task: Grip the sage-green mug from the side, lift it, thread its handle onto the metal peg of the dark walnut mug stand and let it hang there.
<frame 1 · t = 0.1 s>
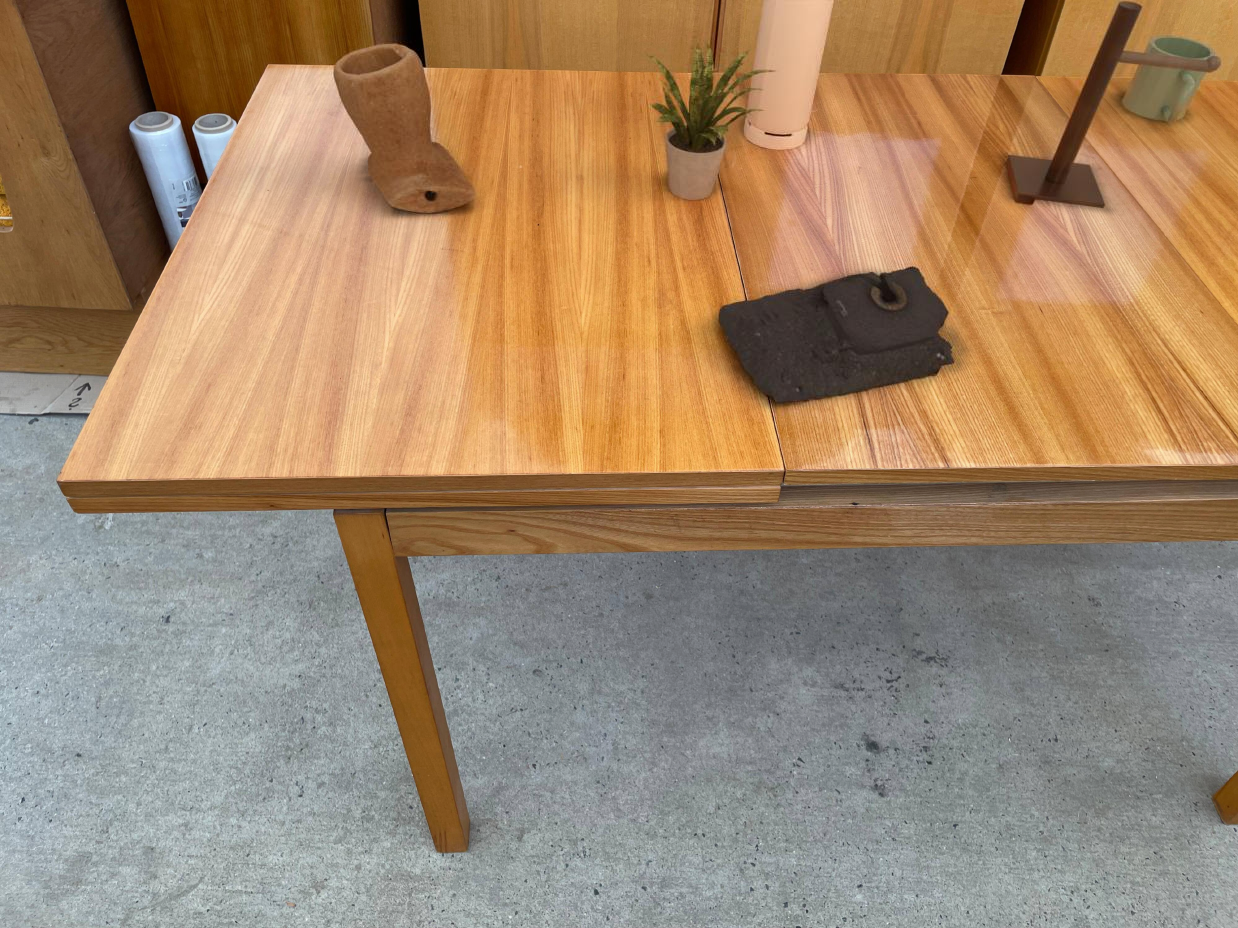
dark brown flat slab: (831, 341, 86), on the table
bottle: (774, 136, 116), on the table
house plant: (699, 194, 105), on the table
brown clay vessel: (410, 190, 103), on the table
mug: (1150, 112, 126), on the table
mug stand: (1051, 187, 110), on the table
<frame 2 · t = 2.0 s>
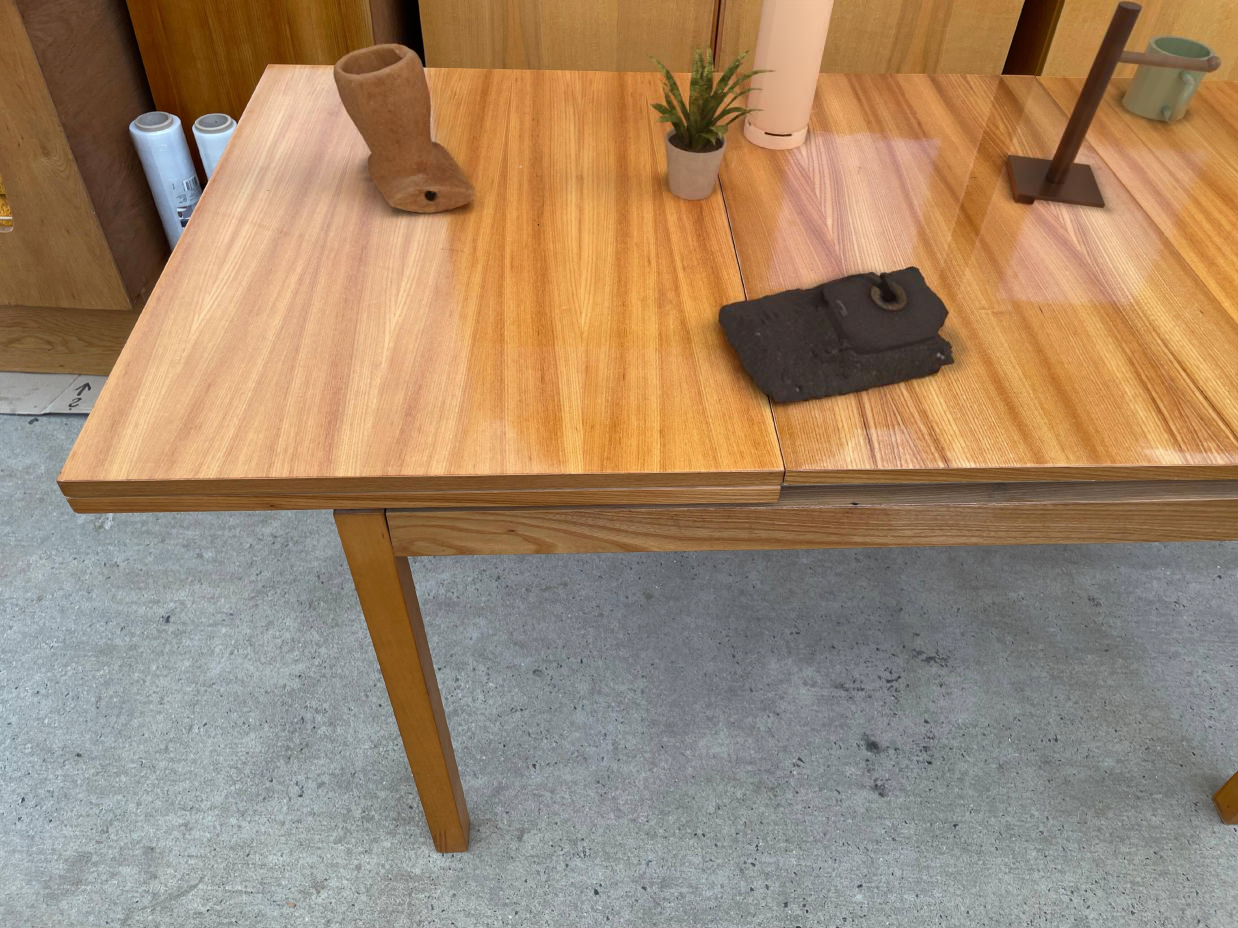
nothing on the table moved.
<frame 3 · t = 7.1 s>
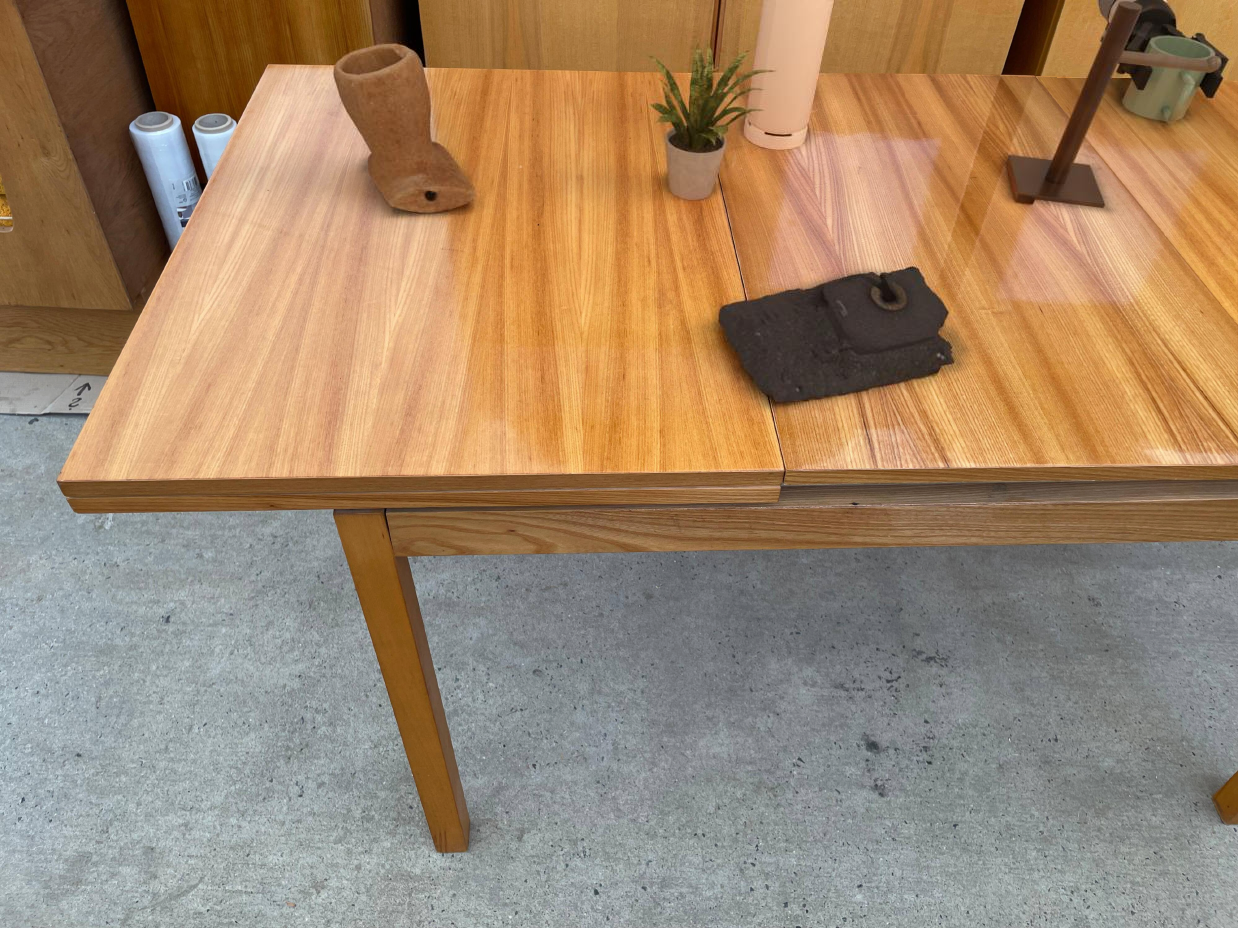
hand: (1180, 84, 118), 6 cm above the table, tool horizontal, fingers closed on mug, 8 cm apart
mug: (1150, 112, 126), on the table, touching gripper
everything else where it was.
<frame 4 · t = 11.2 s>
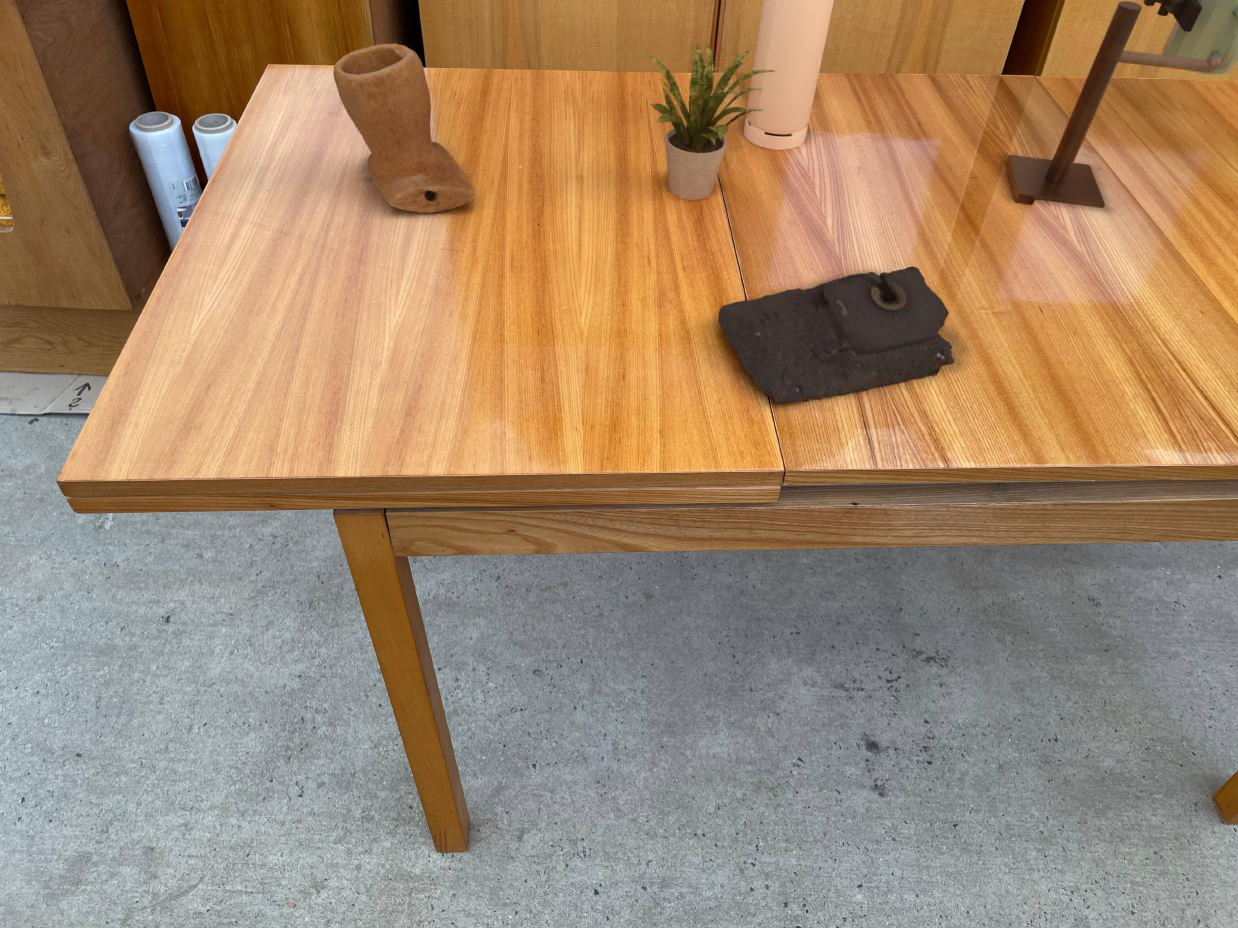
hand: (1233, 24, 102), 17 cm above the table, tool horizontal, fingers closed on mug, 8 cm apart
mug: (1196, 61, 110), point 11 cm above the table, touching gripper
everything else where it was.
when the fingers open (16 cm above the table, at t = 15.5 s): mug drops 2 cm and tips over, resting on mug stand.
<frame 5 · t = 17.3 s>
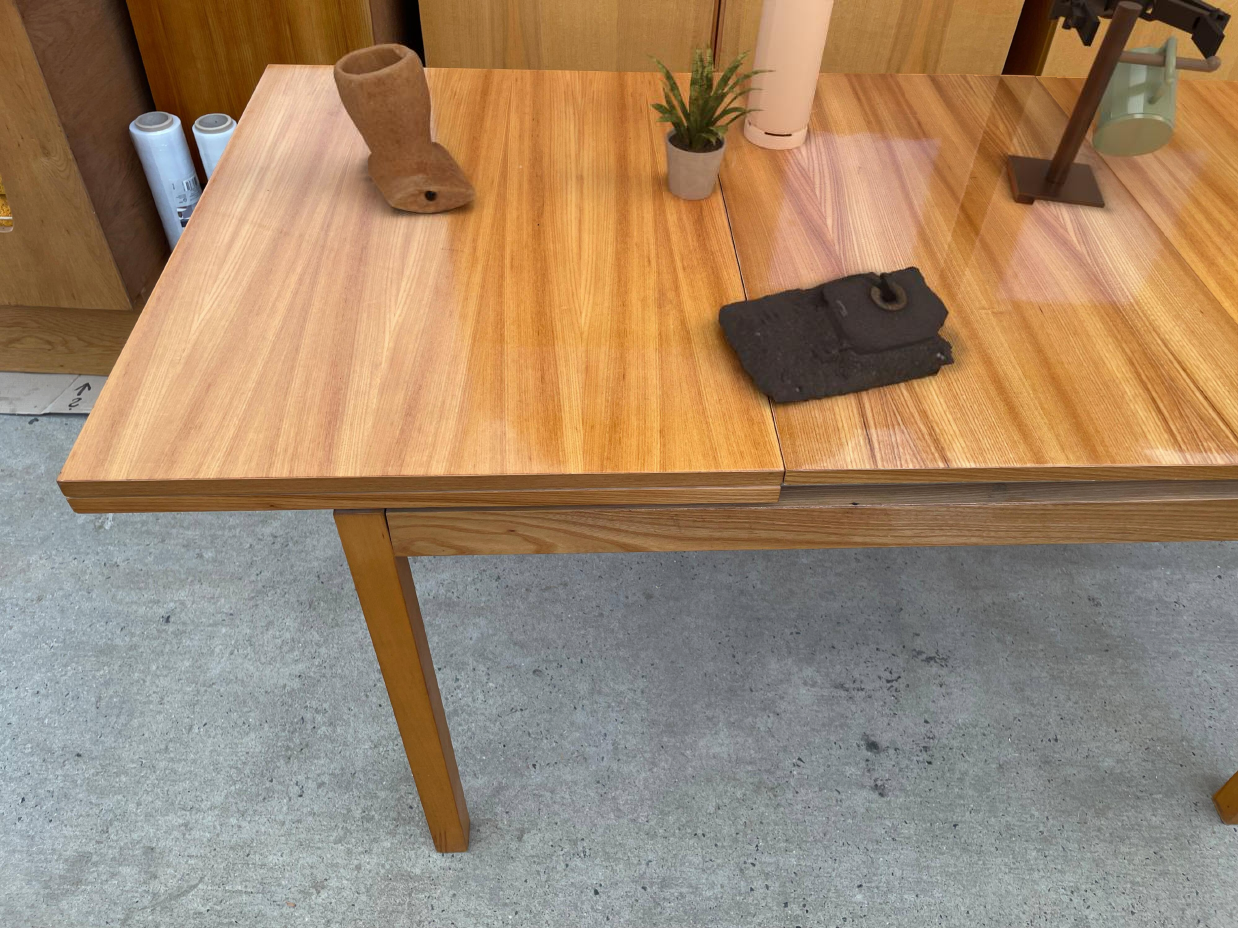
hand: (1153, 41, 101), 16 cm above the table, tool horizontal, fingers open, 13 cm apart
mug: (1131, 138, 103), point 8 cm above the table, tilted 56°, touching mug stand
everything else where it was.
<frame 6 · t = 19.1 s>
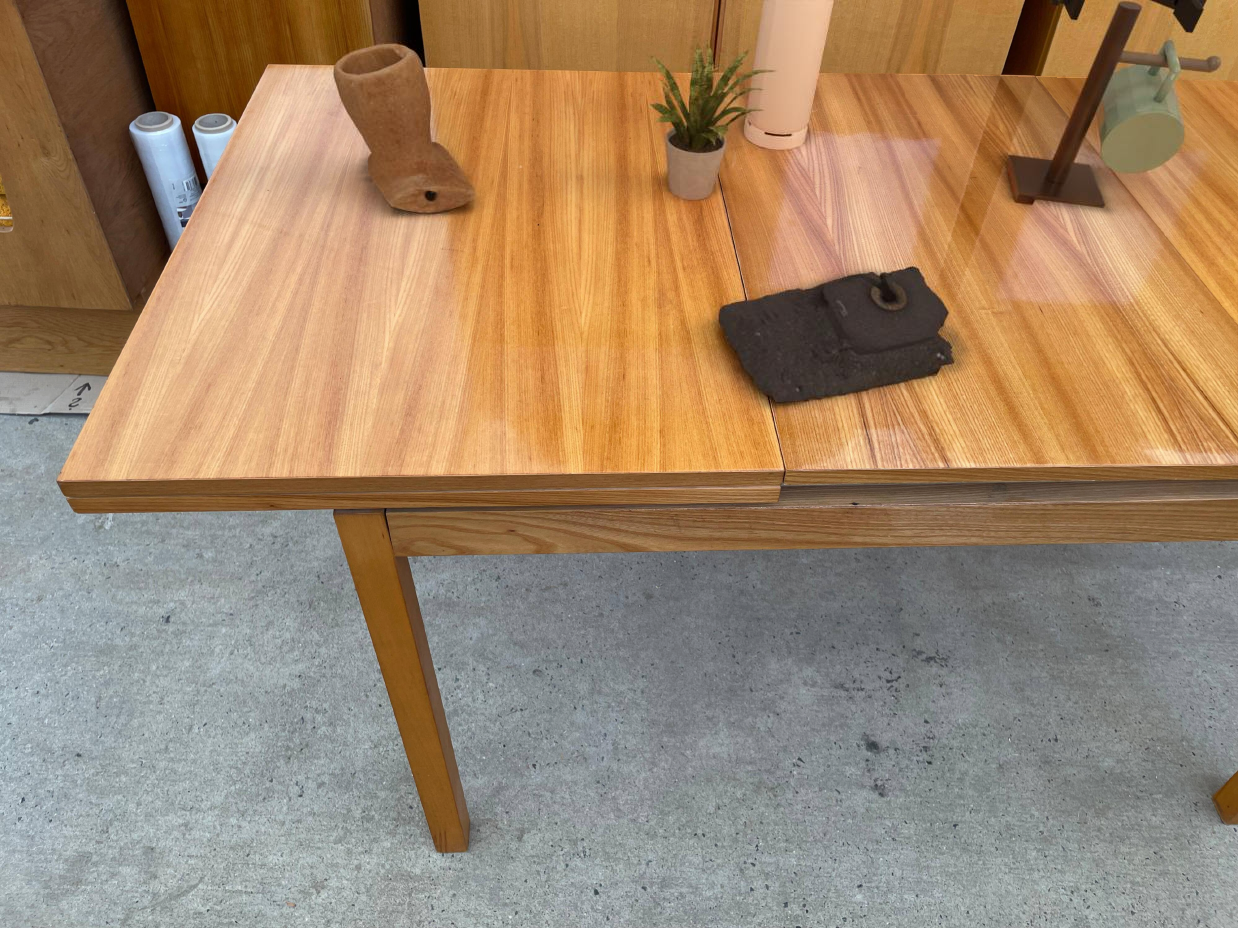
hand: (1136, 15, 107), 16 cm above the table, tool horizontal, fingers open, 13 cm apart
mug: (1142, 144, 100), point 8 cm above the table, tilted 78°, touching mug stand
everything else where it was.
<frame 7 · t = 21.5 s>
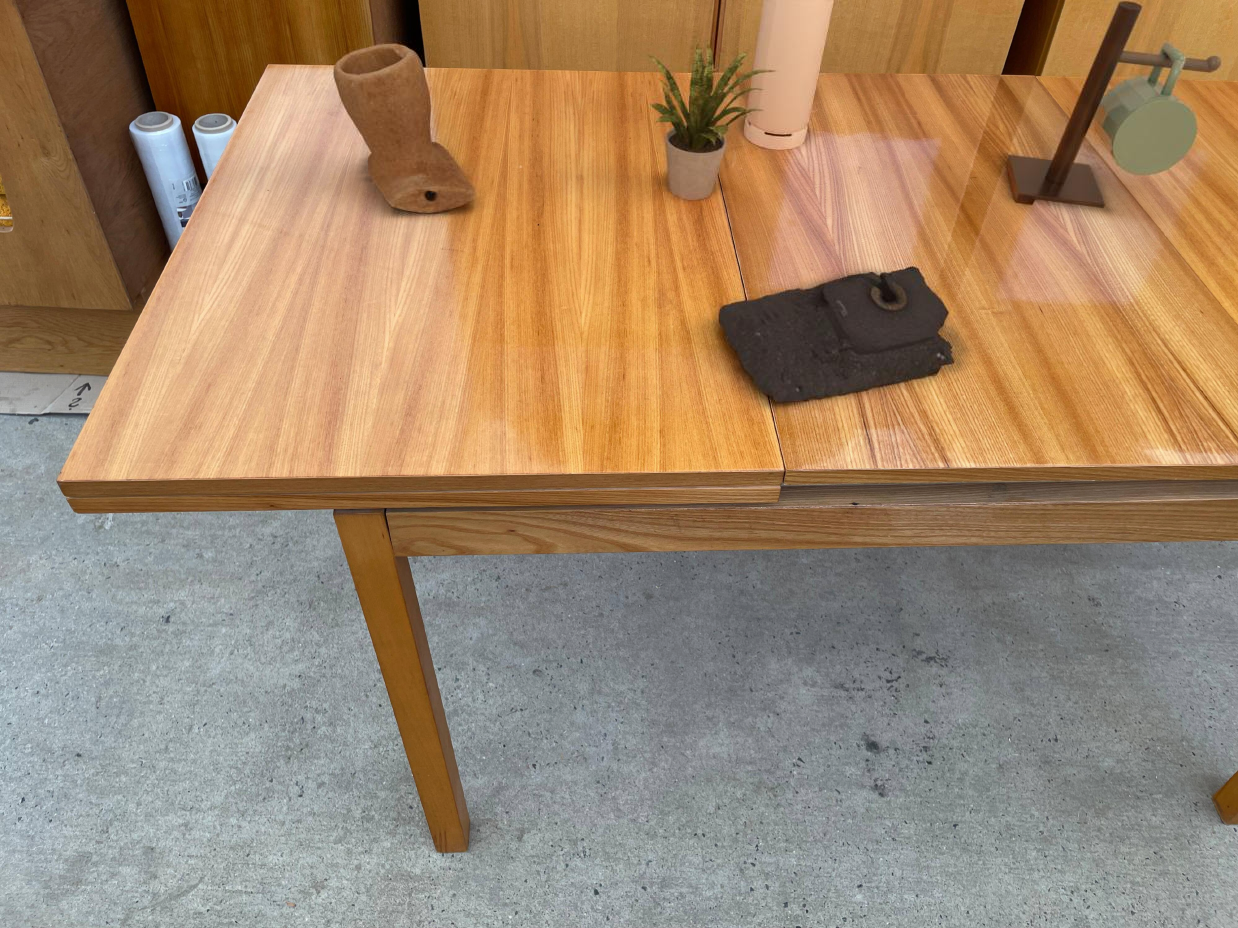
mug: (1154, 139, 97), point 10 cm above the table, tilted 97°, touching mug stand
everything else where it was.
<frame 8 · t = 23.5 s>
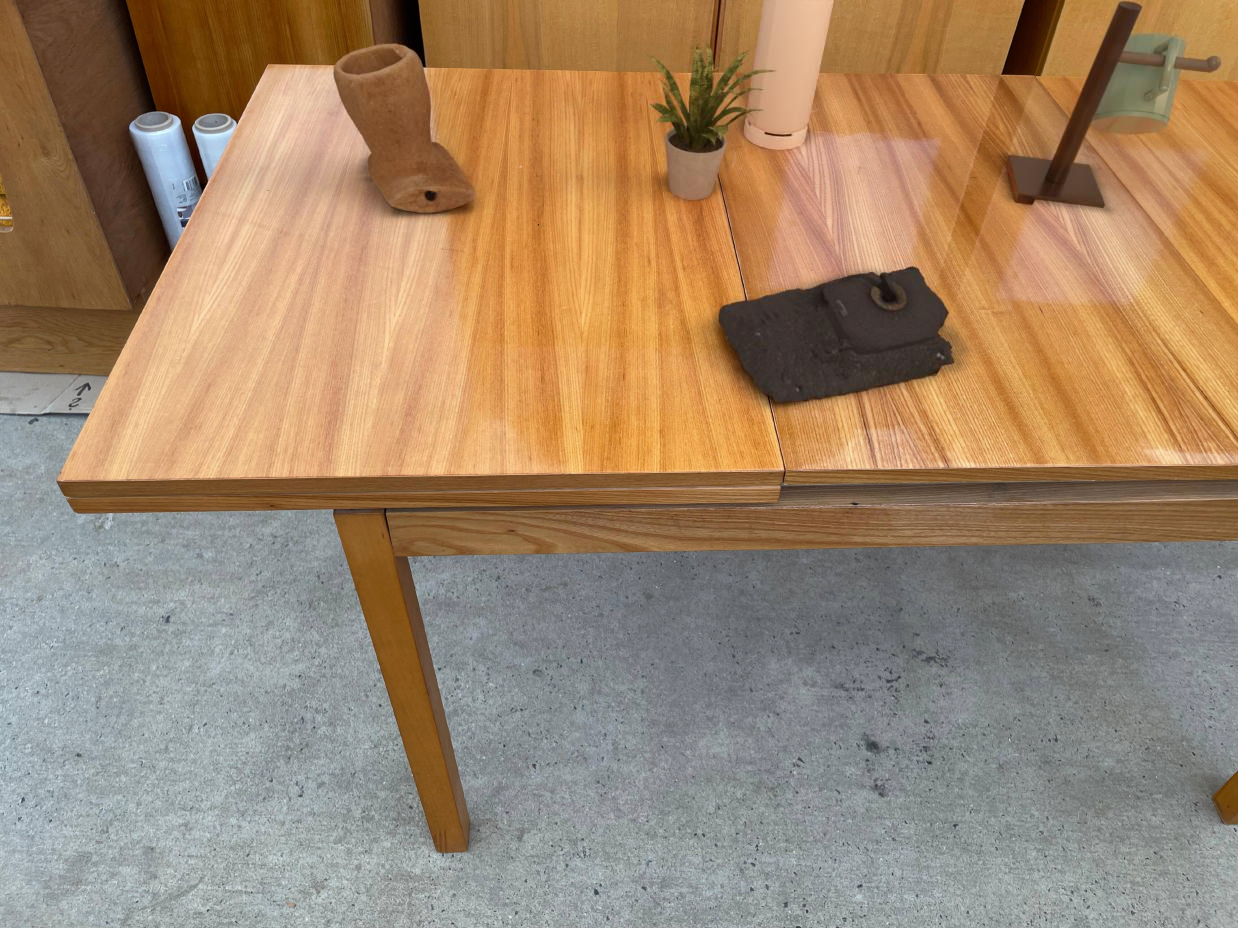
mug: (1127, 125, 105), point 8 cm above the table, tilted 37°, touching mug stand
everything else where it was.
at the end: the gripper is holding nothing; mug point 7.8 cm above the table; mug 6.3 cm from the mug stand (horizontally) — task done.
